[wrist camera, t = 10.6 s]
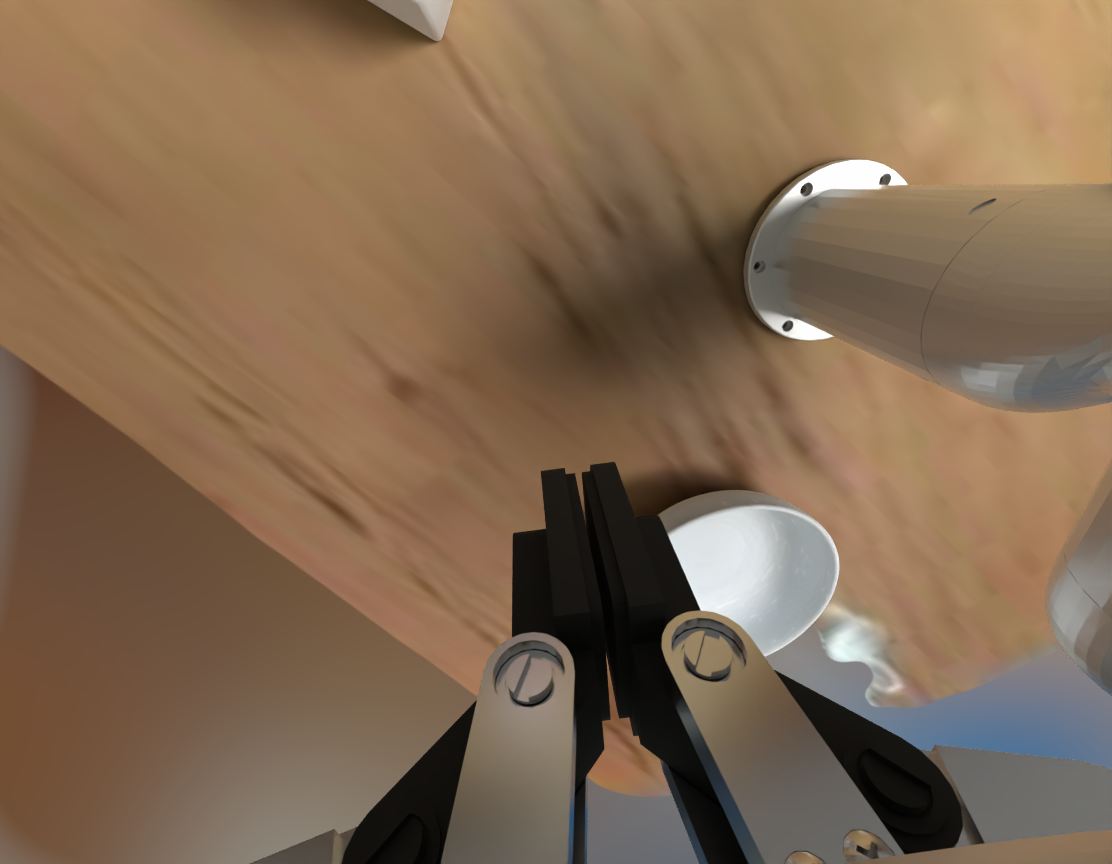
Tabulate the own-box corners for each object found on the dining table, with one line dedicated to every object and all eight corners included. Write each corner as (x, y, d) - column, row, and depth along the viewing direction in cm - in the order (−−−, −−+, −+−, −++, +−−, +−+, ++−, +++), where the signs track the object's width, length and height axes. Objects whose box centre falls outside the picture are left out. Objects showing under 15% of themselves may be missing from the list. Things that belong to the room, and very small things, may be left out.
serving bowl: (775, 611, 54) (808, 664, 48) (597, 622, 52) (608, 680, 46) (824, 458, 44) (874, 501, 38) (607, 467, 43) (623, 514, 37)
